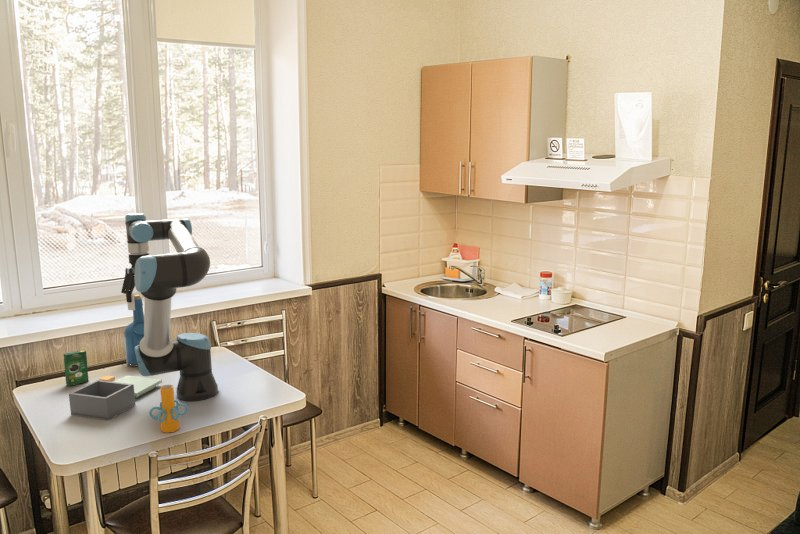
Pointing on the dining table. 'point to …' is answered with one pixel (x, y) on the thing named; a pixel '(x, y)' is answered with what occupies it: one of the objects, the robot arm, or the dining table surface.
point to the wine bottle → (134, 331)
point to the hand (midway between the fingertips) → (143, 305)
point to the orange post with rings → (168, 410)
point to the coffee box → (76, 367)
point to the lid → (136, 383)
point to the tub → (102, 399)
